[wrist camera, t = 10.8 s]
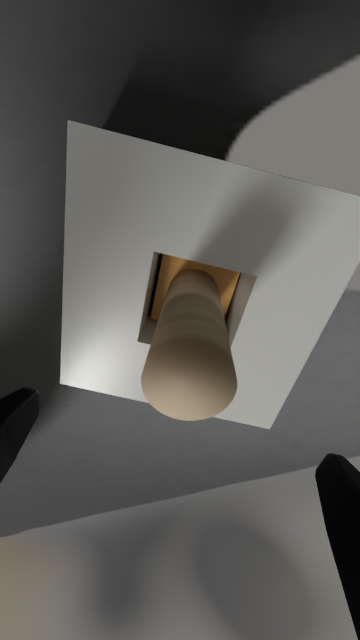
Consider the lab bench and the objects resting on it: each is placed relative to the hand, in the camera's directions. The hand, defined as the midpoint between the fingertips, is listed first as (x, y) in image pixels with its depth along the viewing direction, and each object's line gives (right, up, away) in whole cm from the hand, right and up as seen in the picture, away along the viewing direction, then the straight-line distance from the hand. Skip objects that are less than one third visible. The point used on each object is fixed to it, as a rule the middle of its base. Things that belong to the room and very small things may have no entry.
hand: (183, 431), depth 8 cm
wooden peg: (+1, +5, +11) cm, 12 cm away
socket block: (+1, +6, +12) cm, 13 cm away
